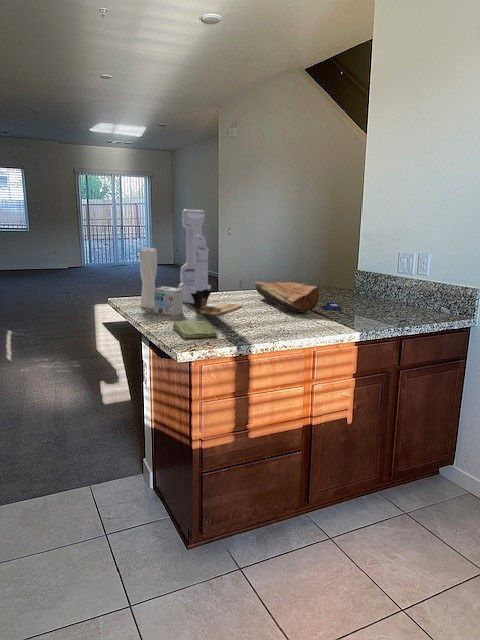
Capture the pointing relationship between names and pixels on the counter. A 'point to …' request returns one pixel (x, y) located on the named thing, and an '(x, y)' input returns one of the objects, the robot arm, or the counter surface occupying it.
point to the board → (225, 309)
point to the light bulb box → (168, 301)
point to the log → (290, 295)
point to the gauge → (206, 307)
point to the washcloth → (194, 330)
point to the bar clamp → (333, 307)
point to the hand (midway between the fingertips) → (200, 307)
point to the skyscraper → (148, 276)
